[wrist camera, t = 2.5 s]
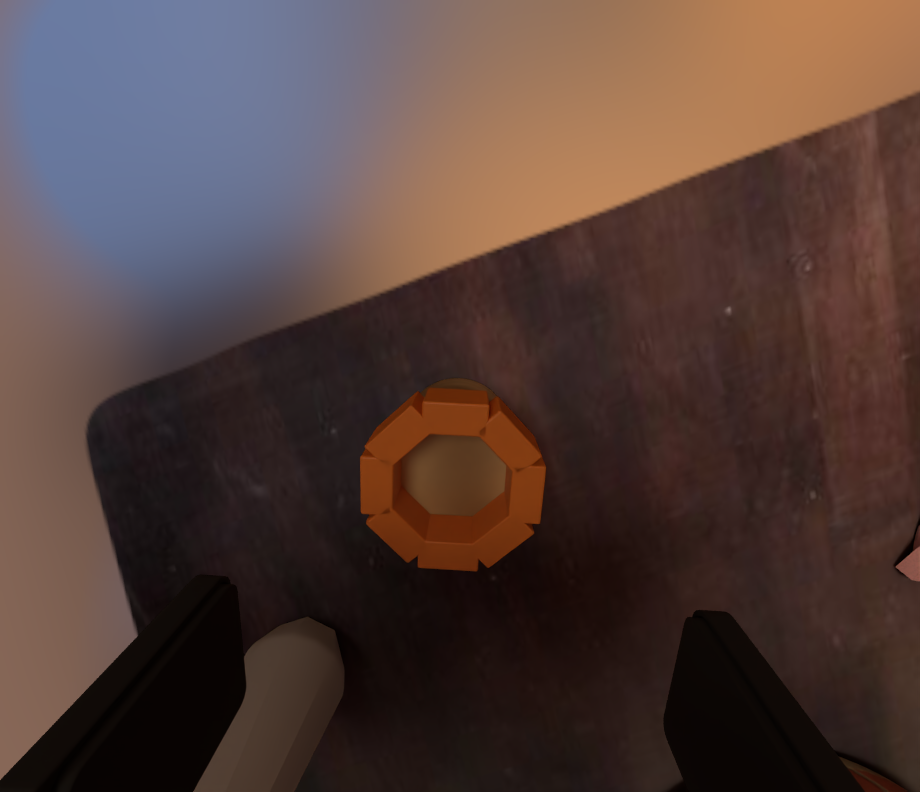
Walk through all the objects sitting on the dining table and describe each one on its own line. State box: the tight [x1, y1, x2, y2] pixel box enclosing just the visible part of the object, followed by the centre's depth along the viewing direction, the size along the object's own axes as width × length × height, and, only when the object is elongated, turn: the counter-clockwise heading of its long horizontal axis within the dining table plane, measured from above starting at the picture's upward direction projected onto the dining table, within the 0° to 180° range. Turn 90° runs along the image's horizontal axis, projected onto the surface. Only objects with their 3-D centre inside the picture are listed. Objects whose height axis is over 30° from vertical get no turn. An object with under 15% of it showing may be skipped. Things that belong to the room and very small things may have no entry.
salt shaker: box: [195, 617, 344, 792], centre depth 20 cm, size 6×6×13 cm
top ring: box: [360, 388, 546, 571], centre depth 17 cm, size 7×7×2 cm
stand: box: [401, 378, 506, 516], centre depth 20 cm, size 5×5×5 cm
